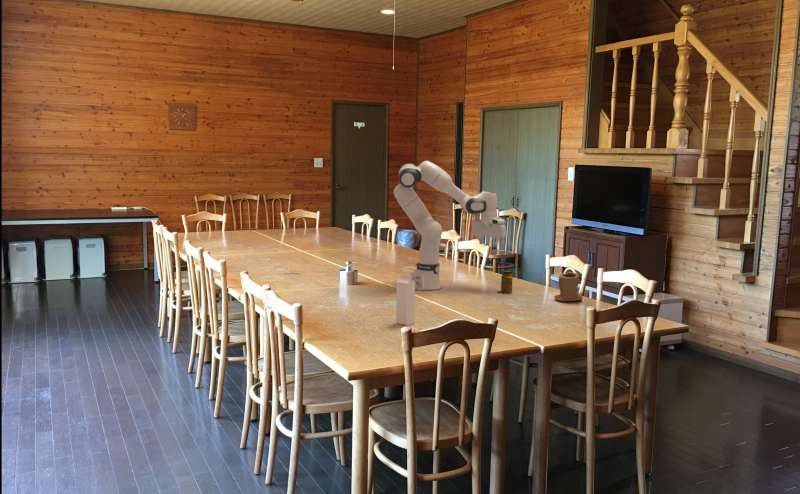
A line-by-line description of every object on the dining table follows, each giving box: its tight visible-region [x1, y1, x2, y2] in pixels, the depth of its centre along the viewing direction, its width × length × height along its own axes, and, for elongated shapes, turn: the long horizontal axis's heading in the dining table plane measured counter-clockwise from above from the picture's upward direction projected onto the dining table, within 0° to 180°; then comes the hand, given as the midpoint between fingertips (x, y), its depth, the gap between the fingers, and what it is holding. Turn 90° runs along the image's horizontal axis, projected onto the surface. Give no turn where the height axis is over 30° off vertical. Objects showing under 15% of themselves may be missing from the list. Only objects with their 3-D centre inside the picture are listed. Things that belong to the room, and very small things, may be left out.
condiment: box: [496, 270, 515, 295], centre depth 362 cm, size 7×8×12 cm
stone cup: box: [554, 271, 584, 302], centre depth 344 cm, size 15×12×15 cm
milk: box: [395, 273, 416, 326], centre depth 294 cm, size 6×6×22 cm
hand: (488, 244), depth 366 cm, fingers open, 8 cm apart
